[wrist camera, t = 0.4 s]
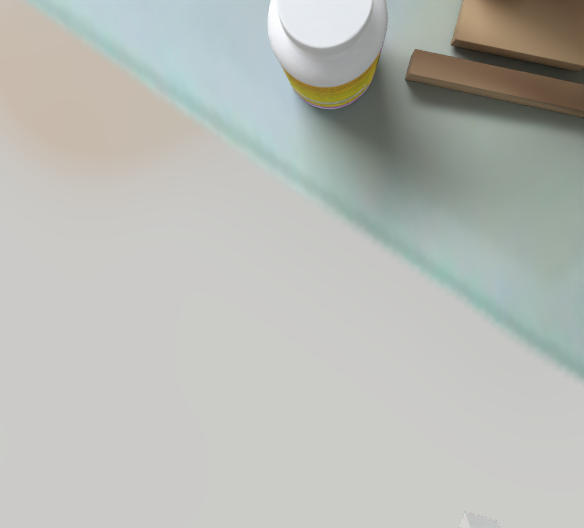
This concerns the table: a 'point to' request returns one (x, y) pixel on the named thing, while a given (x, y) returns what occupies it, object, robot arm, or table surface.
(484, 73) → the track rails
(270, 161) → the table surface
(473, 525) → the robot arm
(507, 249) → the table surface
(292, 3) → the supplement bottle
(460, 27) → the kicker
